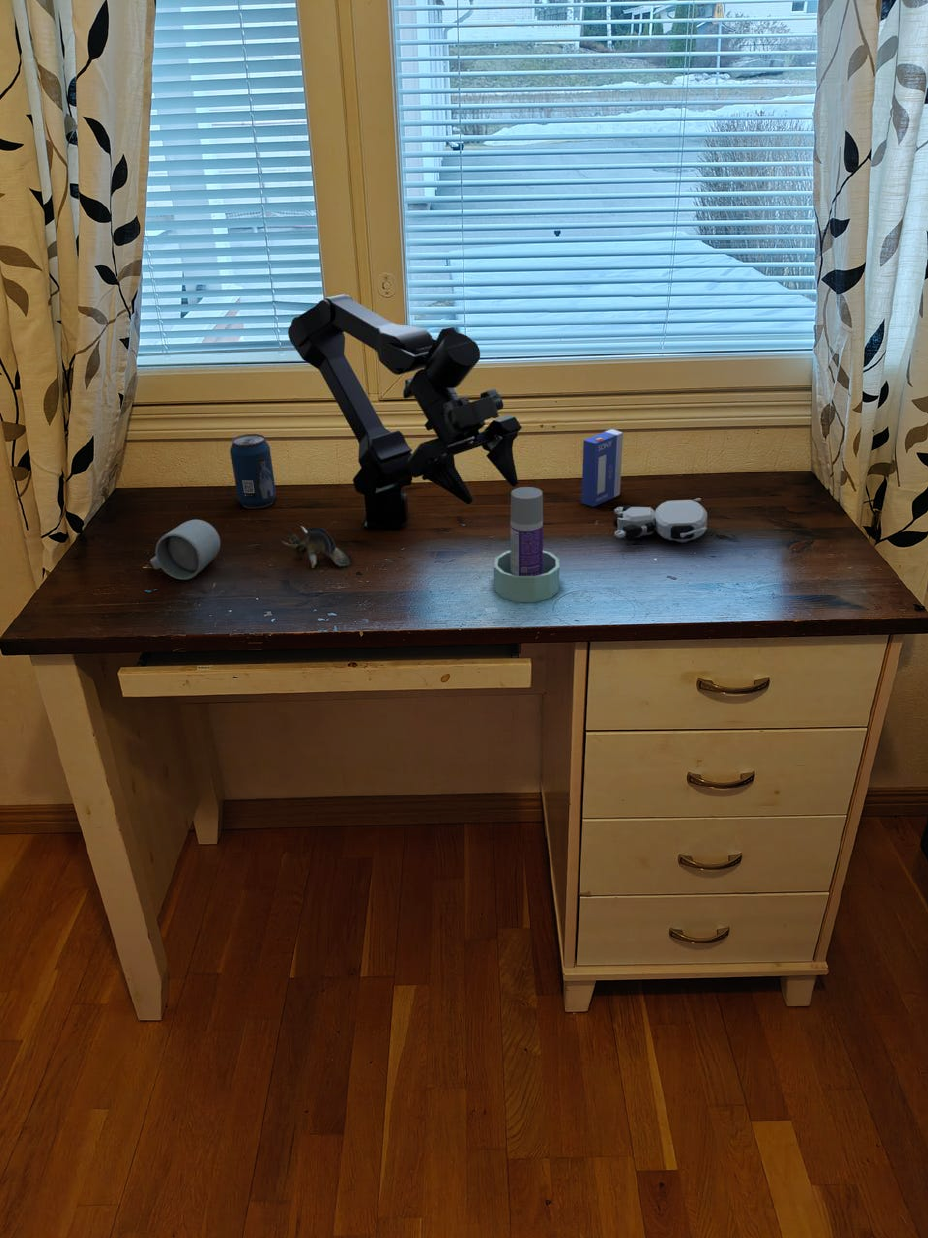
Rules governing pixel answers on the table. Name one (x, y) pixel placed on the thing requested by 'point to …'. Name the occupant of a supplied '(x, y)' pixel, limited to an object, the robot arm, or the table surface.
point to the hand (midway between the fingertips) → (493, 493)
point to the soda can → (253, 471)
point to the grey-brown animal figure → (317, 546)
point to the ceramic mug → (187, 549)
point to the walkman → (601, 467)
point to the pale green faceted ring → (526, 580)
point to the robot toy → (662, 520)
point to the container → (526, 531)
